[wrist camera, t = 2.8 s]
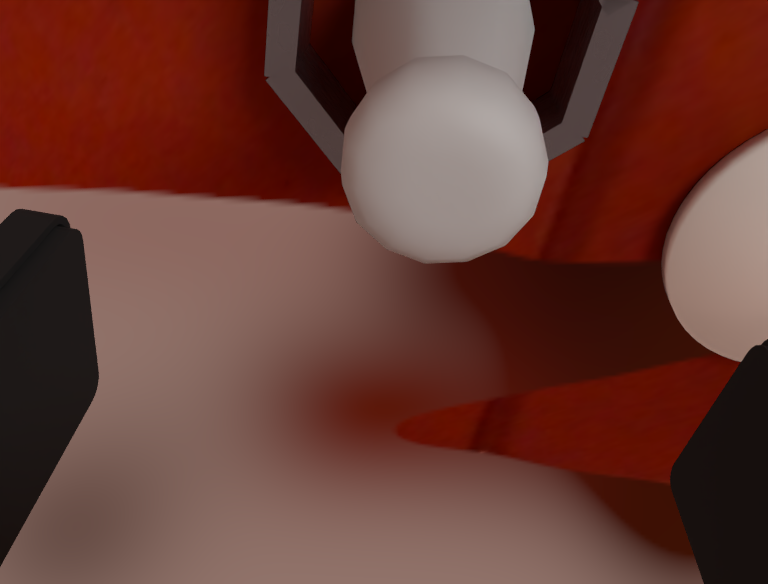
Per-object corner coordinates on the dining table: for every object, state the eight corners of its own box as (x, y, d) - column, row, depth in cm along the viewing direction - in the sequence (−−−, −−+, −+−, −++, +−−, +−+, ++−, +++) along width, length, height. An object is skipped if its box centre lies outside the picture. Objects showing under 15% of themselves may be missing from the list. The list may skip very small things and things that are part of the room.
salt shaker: (367, 99, 26) (315, 311, 15) (349, -70, 22) (267, 55, 12) (524, 90, 25) (580, 305, 15) (530, -85, 22) (610, 33, 11)
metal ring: (301, -211, 20) (281, -211, 18) (658, -136, 21) (686, -126, 18) (275, 131, 27) (258, 165, 24) (546, 182, 27) (556, 220, 25)
